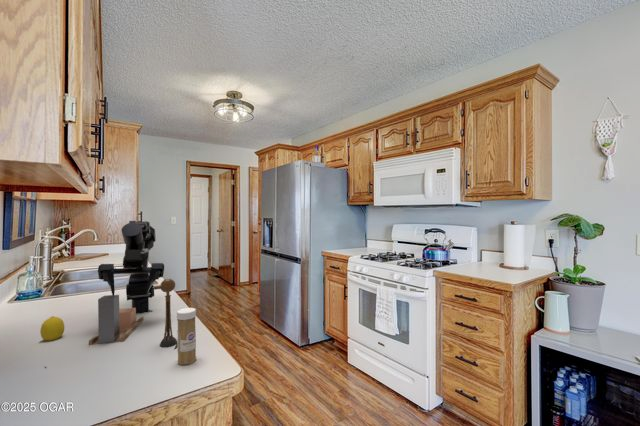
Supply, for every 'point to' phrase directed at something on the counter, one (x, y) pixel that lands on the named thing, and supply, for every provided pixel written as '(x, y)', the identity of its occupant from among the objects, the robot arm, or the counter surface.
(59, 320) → the lemon
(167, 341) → the wooden tabletop sculpture
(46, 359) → the counter surface
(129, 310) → the terracotta block
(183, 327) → the sprinkles bottle
